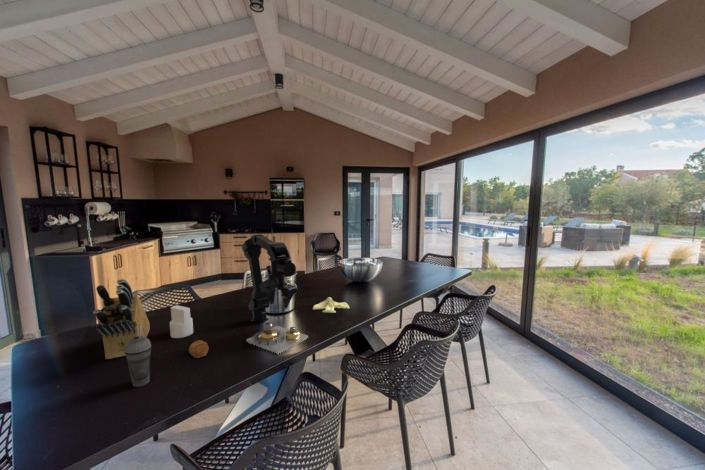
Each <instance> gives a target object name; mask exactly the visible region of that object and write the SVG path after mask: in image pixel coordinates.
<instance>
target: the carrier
mask: <svg viewBox="0 0 705 470" xmlns="http://www.w3.org/2000/svg"><path fill="white" fill-rule="evenodd" d="M272 330H276V331H277V338H275V339H270V340H262V339H260V333H261V332H262V331H265V329H264V330H260V331H257V332H256V333H255V334H253V336H251V337H248V338H247V339H246V343H247V342H248V344H250V345H252V344H253V345H252V346H255V345H256V346H255V347H257V346H258V348H260V347H261V348H260V349H263V350H265V349H266V351H268V350H269V351H268V352H270V351H271V353H273V352H274V353H273V354H275V353H276V354H275V355H280V354H282V353H284V352H285V350H286V351H287V350H289V349H291V348H292V346H293V347H295V346H296V344H297V345H299V344H300V343H302V342H304V341H306V340H308V339H309V335H308V334H305V333H301V331H300V330H299V329H296V326H290V327H289V328H286V327H282V326H279V325H275V326H274V327H273V326H272ZM307 338H308V339H307ZM294 345H295V346H294ZM290 347H291V348H290ZM288 348H289V349H288ZM283 351H284V352H283ZM281 352H282V353H281ZM279 353H280V354H279Z"/></svg>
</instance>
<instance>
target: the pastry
mask: <svg viewBox="0 0 705 470" xmlns="http://www.w3.org/2000/svg"><path fill="white" fill-rule="evenodd" d="M208 352H209V345H208V343H207V342H206V341H204V340H201V339H199V340H196V341H194V342H192V343H191V344H190V346H189V349H188V353H189V355H191V356H192V357H193V358H196V359H199V358H203V357H206V356H207V354H208Z"/></svg>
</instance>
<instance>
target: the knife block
mask: <svg viewBox="0 0 705 470" xmlns="http://www.w3.org/2000/svg"><path fill="white" fill-rule="evenodd" d="M116 283H117V284H118V285H116V291H115V294H116V295H117V297H110V293H109V292H108V290H107V288H106V287H105V286H104V285H97V287H96V289H95V290H96V292H97V295H98V296H99V297H100V298H101V300H102V303H103V305H102V308H101V309H98V308H97V309H94V310H93V312H92V313H93V314H94V315H95V316H96V318H97V320H98V321H99V323H100V324H96V325H94V327H93V328H94V330H95V331H97V333H99V334H100V335H101V336H102V342H103V347H104V348H103V349H104V356H105V359H106V360H111V359H114V358H119V357H121V358H122V357H126V355H125V347H126V345H127V343H128V342H129V341H130V340H131V339H132V338H134V337H137V336H139V324H141V336H144V337H146V338H147V337H148V334H149V332H150V325H151V324H150V321H149V318H148V317H147V314H146V311H145V309H144V306H143V304H142V302H141V299H140V297H139V295H138V294H134V293H133V291H132V290H133V289H132V287H131V285H130V284H129V282H128V281H127V280H126V279H124V278H120V279H118V280H117V281H116Z"/></svg>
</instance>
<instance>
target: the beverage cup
mask: <svg viewBox="0 0 705 470" xmlns="http://www.w3.org/2000/svg"><path fill="white" fill-rule="evenodd" d="M152 348H153V347H152V343H151V341H150V339H149V338H147V337H144V336H141V324H139V336H137V337H134V338H132V339H131V340H130V341H129V342H128V343H127V345H126V347H125V355H126V356H125V358H126V360H127V363H128V370H129V375H130V379H131V382H132V386H133V387H136V388H139V387H142V386H145V385H147V384H148V383H150V378H151V377H150V376H151V353H152Z"/></svg>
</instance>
